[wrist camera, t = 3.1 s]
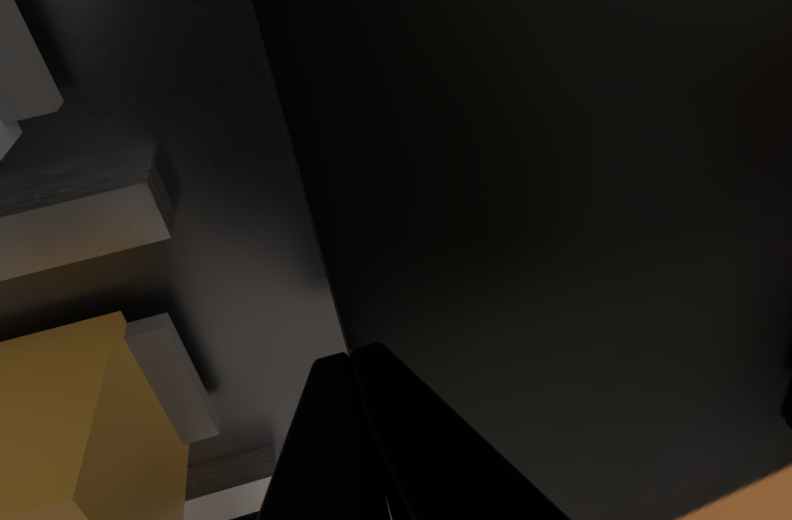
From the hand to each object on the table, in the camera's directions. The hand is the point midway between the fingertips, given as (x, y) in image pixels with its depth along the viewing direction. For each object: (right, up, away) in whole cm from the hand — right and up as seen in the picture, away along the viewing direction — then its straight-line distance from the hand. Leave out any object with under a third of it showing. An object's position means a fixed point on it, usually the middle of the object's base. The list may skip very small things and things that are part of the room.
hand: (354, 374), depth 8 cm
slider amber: (-4, 0, 0) cm, 4 cm away
